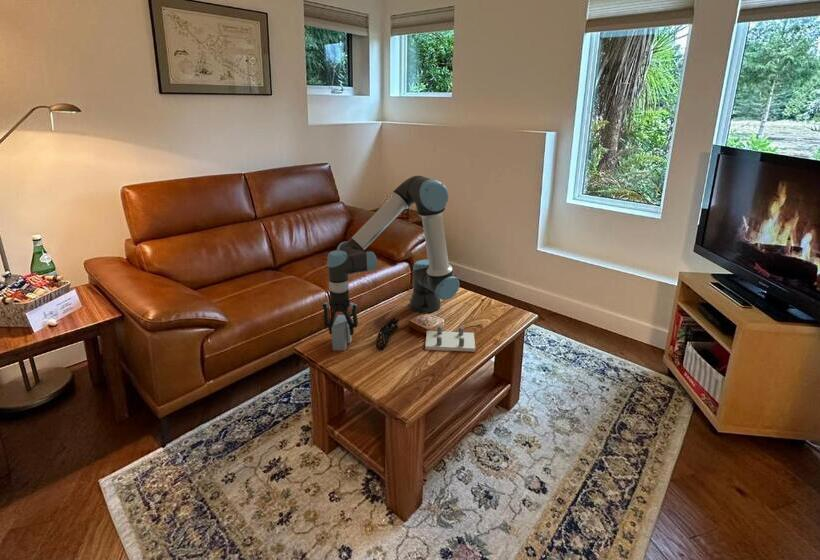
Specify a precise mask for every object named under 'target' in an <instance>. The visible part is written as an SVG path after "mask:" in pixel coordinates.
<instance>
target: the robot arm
mask: <svg viewBox="0 0 820 560" xmlns="http://www.w3.org/2000/svg"><path fill="white" fill-rule="evenodd" d="M448 202H449V190H448V189H447V187H446V185H445V184H444V183H443V182H441V181H439V180H437V179H435V178H430V177H429V178H428V177H425V176H423V175H414V176H413V175H412V176H410V177H409V178H407V179H405V180H404V181H402V182H401V183H400V184H399V185H398V186H397V187H396V188H395V189H394V190H393V191H391V197H390V198H388V199H387V201H385V202H384V204H383V205H382V206H381V207H380V208H379V209H378V210H377V211H376V212H375V213H374V214H373V215H372V216H371V217H370V218H369V219H368V220H367V221H366V222H365V224H363V225H362V226H361V227H360V228H359V229H358V231H357V232H355V233H354V235H353V236H352V237H351V238H350V239H349V240H348V241H343V242H340V243H339V244H338V245H337V248H336V250H333V251H330V252H329V253H328V254H327V264H326V265H327V272H328V273H327V274H328V288H329V301H324V302H323V304H322V307H323V313H324V314H323V316H324V317H323V325H324V327H328V330H329V335H332V330H331V328H332V326H333V324H334V322H335V319H336V314H337V313H343V314H342V315H345V317H346V320H347V322H348V325H349V327H348V344H351V342H352V336H353V335H354V332H355V331H354V330H355V329H354V328H357V327H358V325H359V323H358V322H359V321H358V314H357V306H358V304H357V302H354V303H353V302H351V301H350V294H349V293H350V292H349V275H353V274H359V273H363V272H368V271H373V270H375V269H376V268H377V265H378V261H377V260H378V259H377V256H376V254H375V252H373V251H365V250H366V249H367V248H368V247H369V246H370V245H371V244H372V243H373V242H374V241H375V240H376V239H377V238H378V237H379V236H380V235H381V234H382V232H384V231H385V229H386V228H387V227H389V225H390V224H391V223H393V221H394V220H395V219H396V218H397V217H398V216H399V215H400V214H401V213H402V212H403V211H404V210H408V209H409V208H410V207H411V206H413V205H415V208H416V213H417V215H418V216H419V217H421V222H422V228H423V235H424V240H425V246H426V247H425V249H426V253H427V259H420V260H417V261H415V262H414V263H413V267H412V273H413V274H412V276H413V277H412V281H413V282H412V285H413V286H412V287H413V288H412V289H413V290H412V294H411V297H410V299H409V308H410V309H411V310H412V311H414V312H418V313H426V314H428V313H434V312H437V311H439V310H440V308H441V303H442V302H441V300H442V301H447V300H450V299H452V298H454V297H455V296H456V294H457V293H458V292H459V289H460V281H459V278H458V277H456V276H454V275H455V274H454V269H453V266H452V265H451V264H450V263H449V257H448V256H449V255H448V249H447V248H448V247H447V243H446V242H447V241H446V234H445V227H444V219H443V213H445V211H446V207H447V203H448ZM329 307H330V308H332V312H331V313H332V314H331V316H330V321H329V315H330V314H329V313H330V311H329ZM349 307H350V309H351V314H352V317H351V315H350V313H349Z"/></svg>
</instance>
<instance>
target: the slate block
mask: <svg viewBox="0 0 820 560" xmlns="http://www.w3.org/2000/svg"><path fill="white" fill-rule="evenodd" d="M348 327H349V325H348V322H347V320H346V317H345V315H344V314H337V316H336V317H335V319H334V322H333V326H332V328H331V330H332V334H331V344H332V351H341V350H345V351H346V350H347V347H348V345H349V342H348Z"/></svg>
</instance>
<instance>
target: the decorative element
mask: <svg viewBox="0 0 820 560" xmlns="http://www.w3.org/2000/svg"><path fill="white" fill-rule="evenodd" d="M399 322H400V319H399V318H395V317H392V318H390V320H389V321H388V322H386V324H384V325H383V326H381V328H380V330H379V331H378V335H377V338H376V344H375V345H376V349H377V351H384V349H385V348H386V347H387V345H388V343H389V341H390V337H391V334H393V333H394V332H396V331H397V330H398V329H399V324H398V323H399ZM392 325H393V326H392Z"/></svg>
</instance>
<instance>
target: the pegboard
mask: <svg viewBox="0 0 820 560" xmlns="http://www.w3.org/2000/svg"><path fill="white" fill-rule="evenodd" d="M464 329H465V328H464V327H462V326H459V327H458V331H443V326H441V325H438V326H437V330H426V337H425V346H424V349H425V350H430V351H432V350H433V351H448V352H449V351H452V352H455V351H456V352H472V353H475V352H476V343H475V333H474V332H469V331H468V332H465V330H464Z"/></svg>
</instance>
